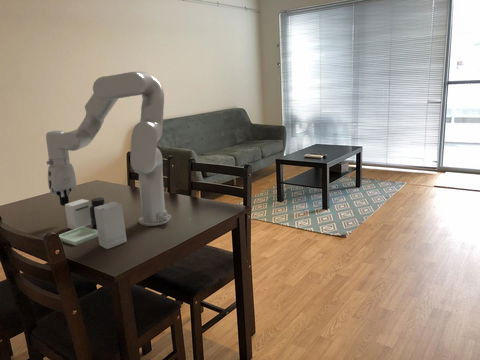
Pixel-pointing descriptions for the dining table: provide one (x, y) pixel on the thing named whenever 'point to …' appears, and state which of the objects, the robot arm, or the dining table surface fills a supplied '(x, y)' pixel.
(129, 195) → the dining table surface
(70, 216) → the unit
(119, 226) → the skincare box
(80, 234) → the tray
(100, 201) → the supplement bottle
